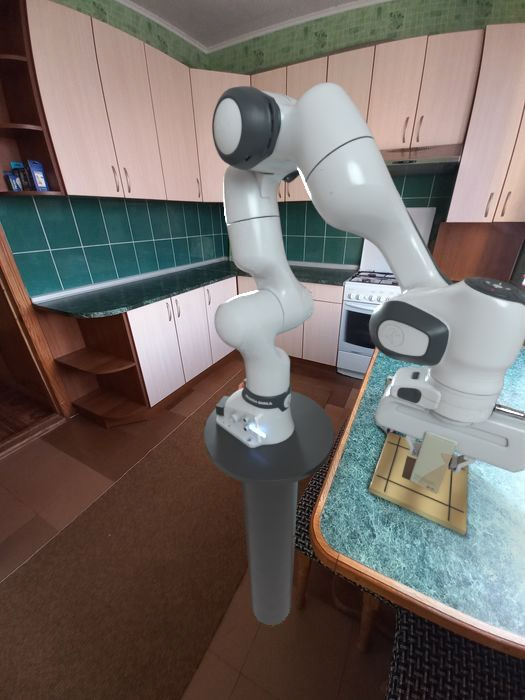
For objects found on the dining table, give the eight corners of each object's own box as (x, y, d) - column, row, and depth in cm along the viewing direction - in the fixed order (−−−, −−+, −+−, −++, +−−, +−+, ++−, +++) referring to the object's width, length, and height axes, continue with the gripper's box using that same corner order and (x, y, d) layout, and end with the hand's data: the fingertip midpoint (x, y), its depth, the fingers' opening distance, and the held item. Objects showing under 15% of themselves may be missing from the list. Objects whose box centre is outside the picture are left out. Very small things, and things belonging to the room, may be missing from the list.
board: (368, 491, 64) (369, 486, 63) (387, 435, 79) (388, 431, 78) (464, 535, 56) (466, 530, 55) (465, 463, 70) (467, 458, 70)
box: (436, 495, 47) (456, 446, 42) (408, 480, 50) (424, 432, 45) (444, 474, 51) (463, 426, 46) (417, 461, 53) (433, 414, 48)
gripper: (548, 406, 39) (508, 475, 46) (389, 365, 49) (375, 426, 56) (557, 434, 34) (512, 507, 41) (380, 383, 44) (366, 448, 51)
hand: (432, 460), depth 48 cm, fingers closed on box, 4 cm apart
